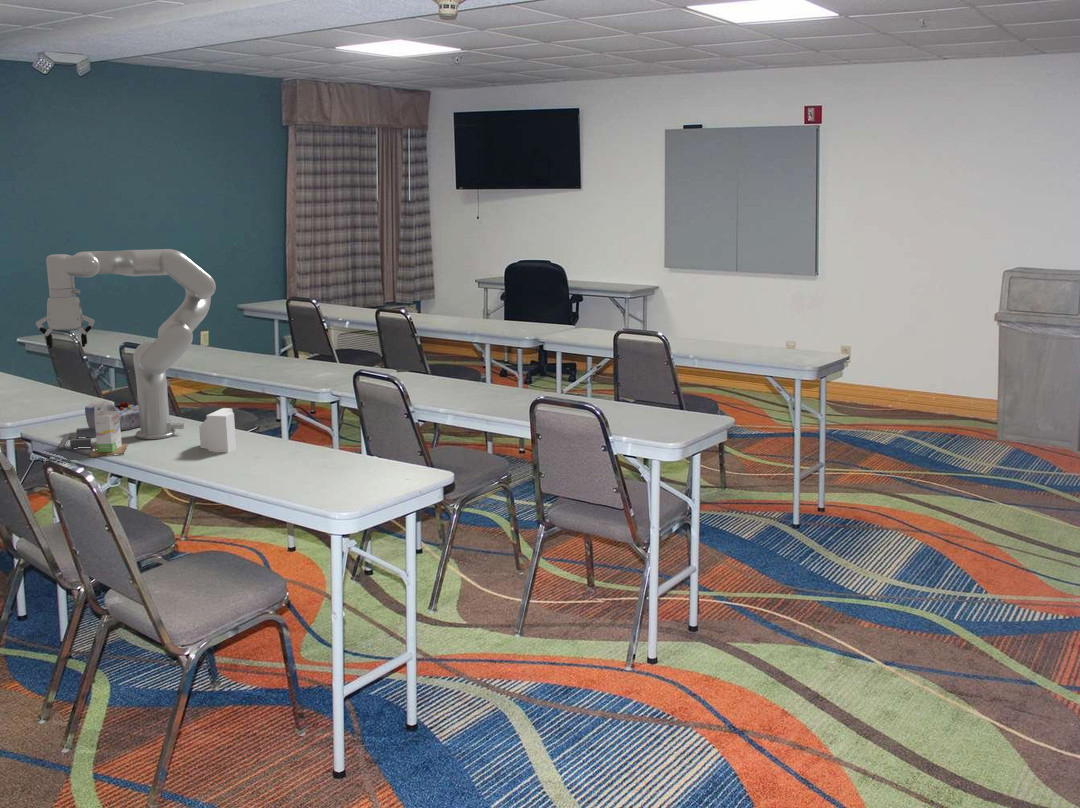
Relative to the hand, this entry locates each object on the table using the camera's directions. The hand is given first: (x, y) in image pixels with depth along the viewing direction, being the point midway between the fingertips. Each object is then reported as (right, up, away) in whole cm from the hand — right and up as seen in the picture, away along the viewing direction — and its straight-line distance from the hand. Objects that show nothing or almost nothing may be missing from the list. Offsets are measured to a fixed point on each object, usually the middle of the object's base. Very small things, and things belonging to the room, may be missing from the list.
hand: (67, 346), depth 337 cm
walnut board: (+14, -33, -1) cm, 36 cm away
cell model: (+5, -27, +29) cm, 40 cm away
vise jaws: (0, -31, +9) cm, 32 cm away
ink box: (+14, -33, -1) cm, 36 cm away
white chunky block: (+48, -33, +3) cm, 58 cm away
